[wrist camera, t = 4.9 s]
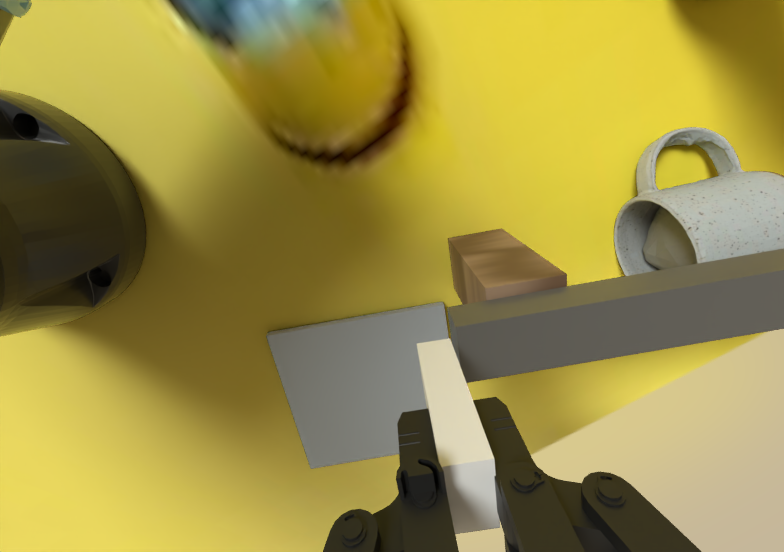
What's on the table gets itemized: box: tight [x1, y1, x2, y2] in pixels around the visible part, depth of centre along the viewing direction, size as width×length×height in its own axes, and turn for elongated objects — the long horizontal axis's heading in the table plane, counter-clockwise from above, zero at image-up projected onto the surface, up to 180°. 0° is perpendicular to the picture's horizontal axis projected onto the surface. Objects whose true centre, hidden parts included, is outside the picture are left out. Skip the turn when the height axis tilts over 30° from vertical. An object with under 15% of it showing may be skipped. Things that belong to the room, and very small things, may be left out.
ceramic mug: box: [614, 127, 784, 276], centre depth 23 cm, size 11×8×8 cm
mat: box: [266, 302, 449, 469], centre depth 31 cm, size 14×14×1 cm
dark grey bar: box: [447, 248, 784, 383], centre depth 17 cm, size 22×3×2 cm, turn 100°
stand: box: [448, 229, 567, 305], centre depth 23 cm, size 32×4×10 cm, turn 100°
